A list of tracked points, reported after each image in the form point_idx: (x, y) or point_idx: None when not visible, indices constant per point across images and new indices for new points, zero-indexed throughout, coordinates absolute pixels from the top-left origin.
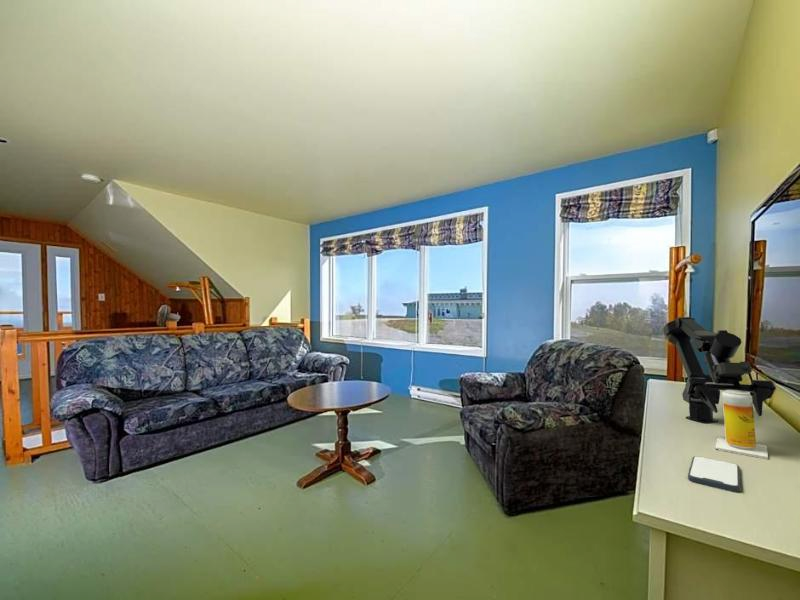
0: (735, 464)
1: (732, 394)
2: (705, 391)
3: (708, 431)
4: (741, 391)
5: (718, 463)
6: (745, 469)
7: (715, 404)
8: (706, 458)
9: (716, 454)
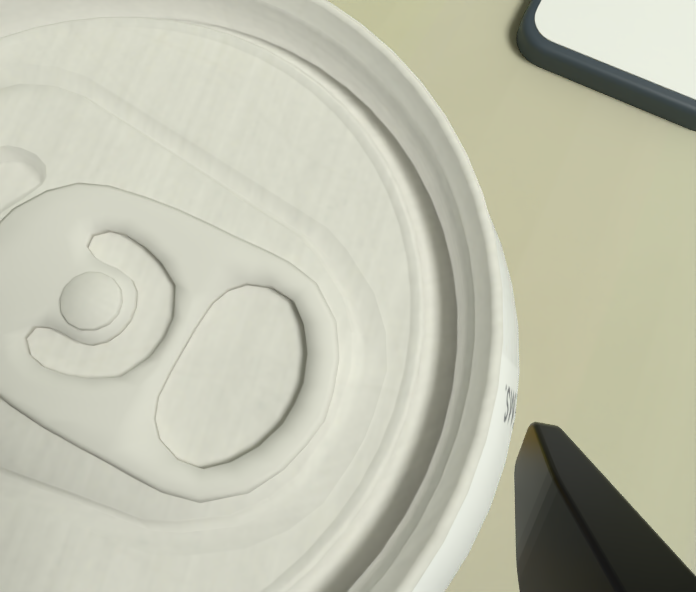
0: (538, 22)
1: (373, 54)
2: None
3: None
4: None
5: (633, 16)
6: (483, 37)
7: (570, 498)
8: (675, 84)
9: (543, 254)
